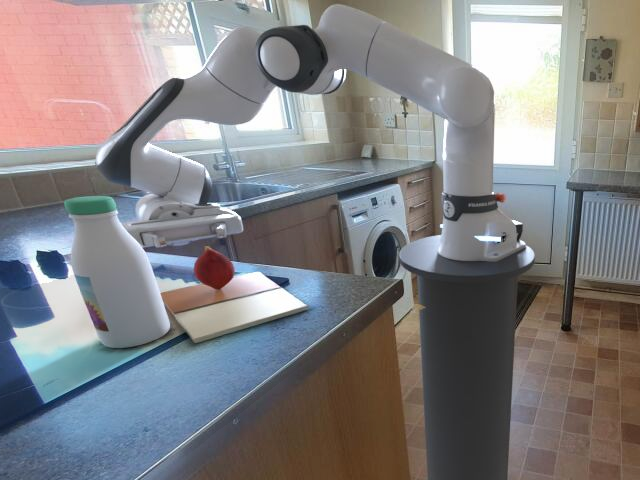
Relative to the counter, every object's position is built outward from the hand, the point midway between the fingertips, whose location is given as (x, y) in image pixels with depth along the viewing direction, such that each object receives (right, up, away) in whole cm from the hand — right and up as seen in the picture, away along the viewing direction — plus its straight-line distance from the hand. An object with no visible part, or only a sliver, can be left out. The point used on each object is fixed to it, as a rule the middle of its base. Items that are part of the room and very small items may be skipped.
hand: (192, 237), depth 77 cm
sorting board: (+12, -12, -6) cm, 18 cm away
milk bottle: (+5, -17, -17) cm, 24 cm away
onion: (+7, -10, -3) cm, 13 cm away
